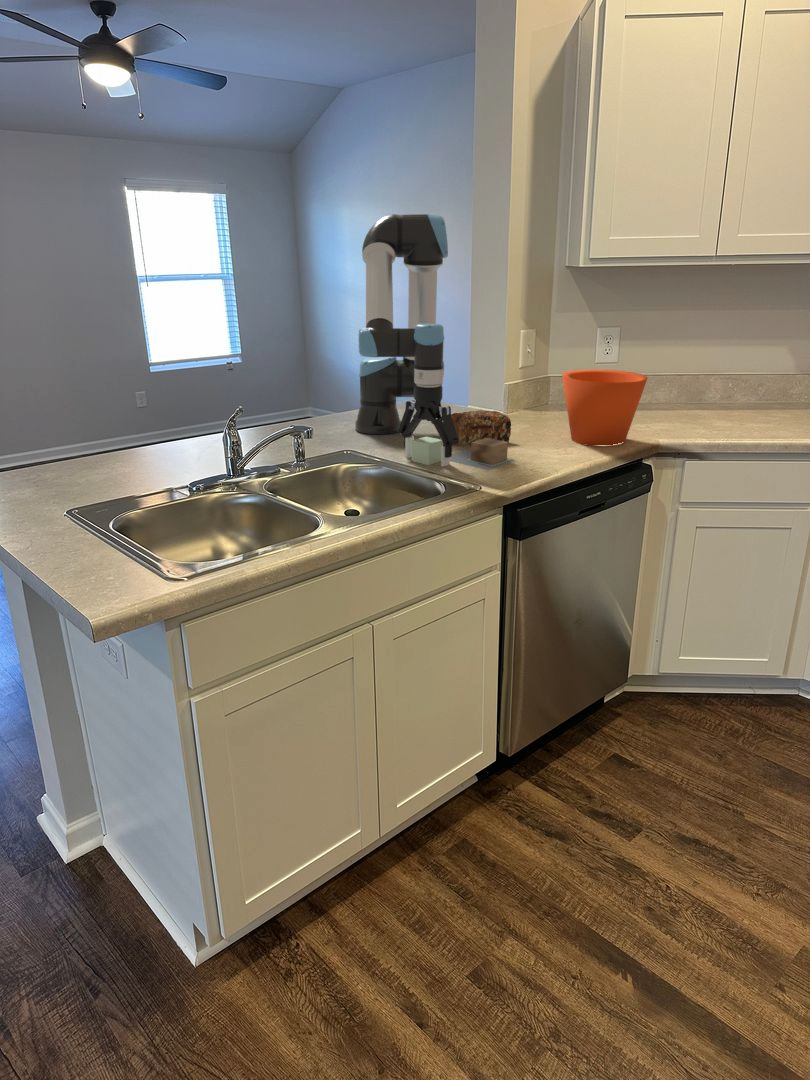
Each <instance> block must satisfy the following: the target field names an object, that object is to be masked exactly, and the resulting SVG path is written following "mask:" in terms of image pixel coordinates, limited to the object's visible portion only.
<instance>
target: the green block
mask: <svg viewBox="0 0 810 1080" xmlns="http://www.w3.org/2000/svg"><path fill="white" fill-rule="evenodd" d="M442 445H444V443H443V441H442V439H441V438H440V439H439V438H434V437H430V436H423V437H418V438H414V440H412V457H411V462H415V463H418V464H424V465H426V466H430V465H433V464H437V463H441V446H442Z"/></svg>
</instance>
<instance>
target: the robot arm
mask: <svg viewBox="0 0 810 1080" xmlns="http://www.w3.org/2000/svg"><path fill="white" fill-rule="evenodd" d="M361 248H362V254H361V256H362V260H363V262H364V264H365V327H363V328H359V330H358V351H359V352H358V353H359V355H360V356H362V357H366V358H365V359H363V360H361V361H360V363H359V374H358V377H359V399H360V400H359V403H360V404H359V405H360V406H359V409H358V412H357V418H356V420H355V423H354V425H355V428H354V429H355V431H357V432H358V433H362V434H369V435H387V434H388V435H389V434H394V433H398V435H399V434H401V435H402V437H403V448H404V449H405V452H404V453H405V454H404V455H405V459H408V458H412V440H415V437H414V436H413V435H414V434H413V433H414V432H415V431H416V429H417V428H418V426H419V424H420V423H421V421H427V422H430V423H431V424H432V425H434V428H435V429H436V432H437V433H438V435H439V438H440V440H442V441H443V445H442V446H441V461H440V466H441V467H446V466H447V467H448V466H449V465H450V462H451V461H450V457H451V456H452V454H453V445H456V443H458V442H459V440H458V437H457V433H456V430H455V427H454V423H453V420H452V417H451V414H452V408H451V406H449V405H448V406H442V400H443V383H444V374H445V371H444V370H445V361H444V341H445V335H444V326H443V325H442V324H440V323H437V300H438V299H437V298H438V297H437V294H438V292H437V291H438V290H437V289H438V288H437V287H438V271H439V269H440V268H441V267H442V266H443V263H444V262H443V259H446V258H448V255H449V246H448V234H447V227H446V223H445V218H444V217H443V216H441V215H440V214H431V213H428V214H427V213H426V214H424V213H423V214H422V213H417V214H414V213H413V214H411V213H410V214H394V213H392V214H388V215H385V216H383V217H381V218H379V220H377V221H376V222H374V223H373V225H372V226H371V228H369V230H368V232H367V234H366V235H365V237H364V240H363V244H362V247H361ZM396 258H403V265H404V266H405V267H406V268H407V269H408V297H407V298H408V300H407V301H408V306H407V307H408V311H407V312H408V314H407V323H408V324H407V326H408V327H406V328H403V327H401V328H399V327H397V328H395V327H394V302H393V301H394V300H393V299H394V297H393V295H394V293H393V292H394V291H393V290H394V289H393V285H394V283H393V263H394V262H395V261H396ZM397 358H402V359H397ZM397 398H414V399H412V400H408V401H405V408H404V409H405V410H404V412H403V415H402V418H401V419H400V415H399V411H398V406H397Z"/></svg>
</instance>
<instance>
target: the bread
mask: <svg viewBox="0 0 810 1080" xmlns="http://www.w3.org/2000/svg"><path fill="white" fill-rule="evenodd" d="M451 417H452V420H453V423H454V427H455V430H456V433H457V437H458V440H459V442H458V443H456V444H455V445H456V446H459V447H461V446H470V445H471V446H472V442H475V441H478V440H482V439H485V438H490V439H495V440H500V441H505V442H508V443H509V442H510V439H511V438H510V437H511V434H512V421H511V419H510V417H509V416H508V415H506V414H504V413H502V412H501V411H496V410H483V409H478V410H477V409H476V410H470V411H464V412H454V413H451Z"/></svg>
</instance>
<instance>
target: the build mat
mask: <svg viewBox="0 0 810 1080" xmlns="http://www.w3.org/2000/svg"><path fill="white" fill-rule="evenodd" d="M515 461H517V460H516V459H512V458H508V457H507V460H505V461H502V462H499V463H496V464H493V465H490V464H485V463H481V462H476V461H472V460H471V449H465V450H460V451H459V452H455V453H452V456H451V457H450V462H451V463H457V464H461V465H464V466H470V467H474V468H477V469H481V470H482V469H483V470H487V471H489V470H492V469H494V468H498V467H501V466H504V465H506V464H510V463H513V462H515Z"/></svg>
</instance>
